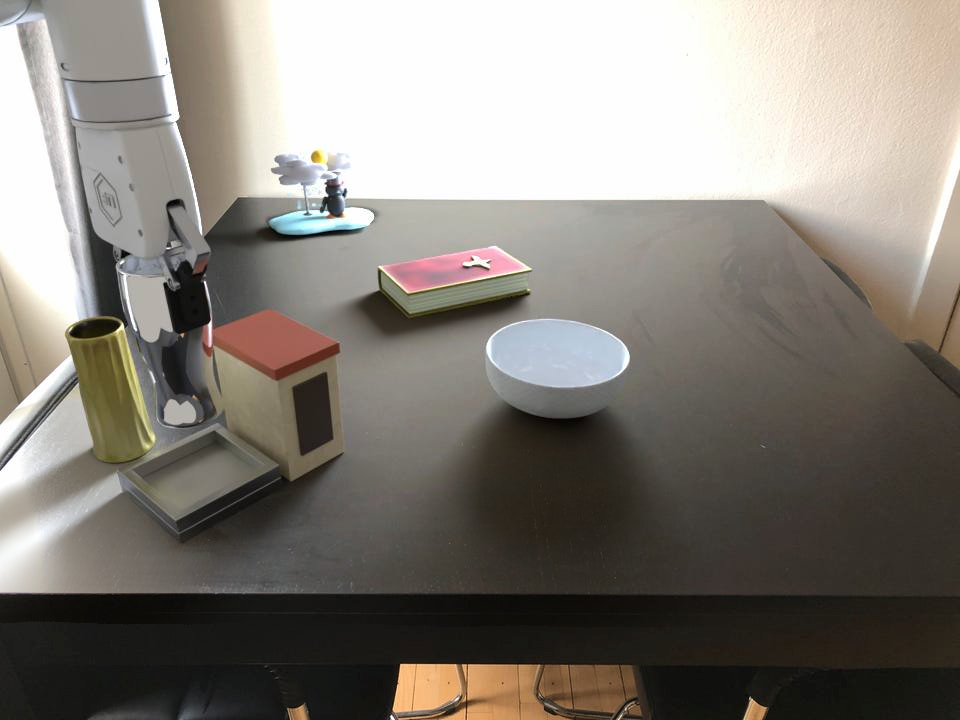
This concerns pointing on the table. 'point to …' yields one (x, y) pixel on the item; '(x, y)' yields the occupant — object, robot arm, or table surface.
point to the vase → (110, 389)
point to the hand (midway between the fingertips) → (168, 313)
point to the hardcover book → (453, 281)
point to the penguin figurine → (309, 175)
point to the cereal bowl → (556, 367)
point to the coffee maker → (247, 427)
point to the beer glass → (169, 347)
